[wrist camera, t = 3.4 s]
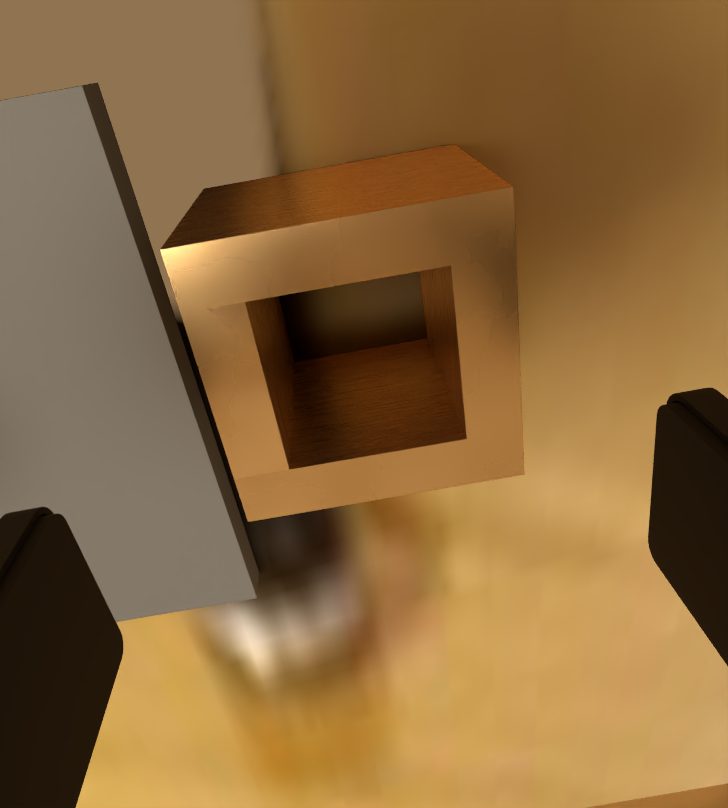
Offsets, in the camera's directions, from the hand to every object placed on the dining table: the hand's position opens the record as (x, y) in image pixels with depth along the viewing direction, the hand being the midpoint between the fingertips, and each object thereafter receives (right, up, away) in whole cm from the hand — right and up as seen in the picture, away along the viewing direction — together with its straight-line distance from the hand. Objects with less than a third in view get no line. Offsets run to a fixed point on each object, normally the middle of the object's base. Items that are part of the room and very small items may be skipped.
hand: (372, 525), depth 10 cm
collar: (-1, +5, +8) cm, 9 cm away
